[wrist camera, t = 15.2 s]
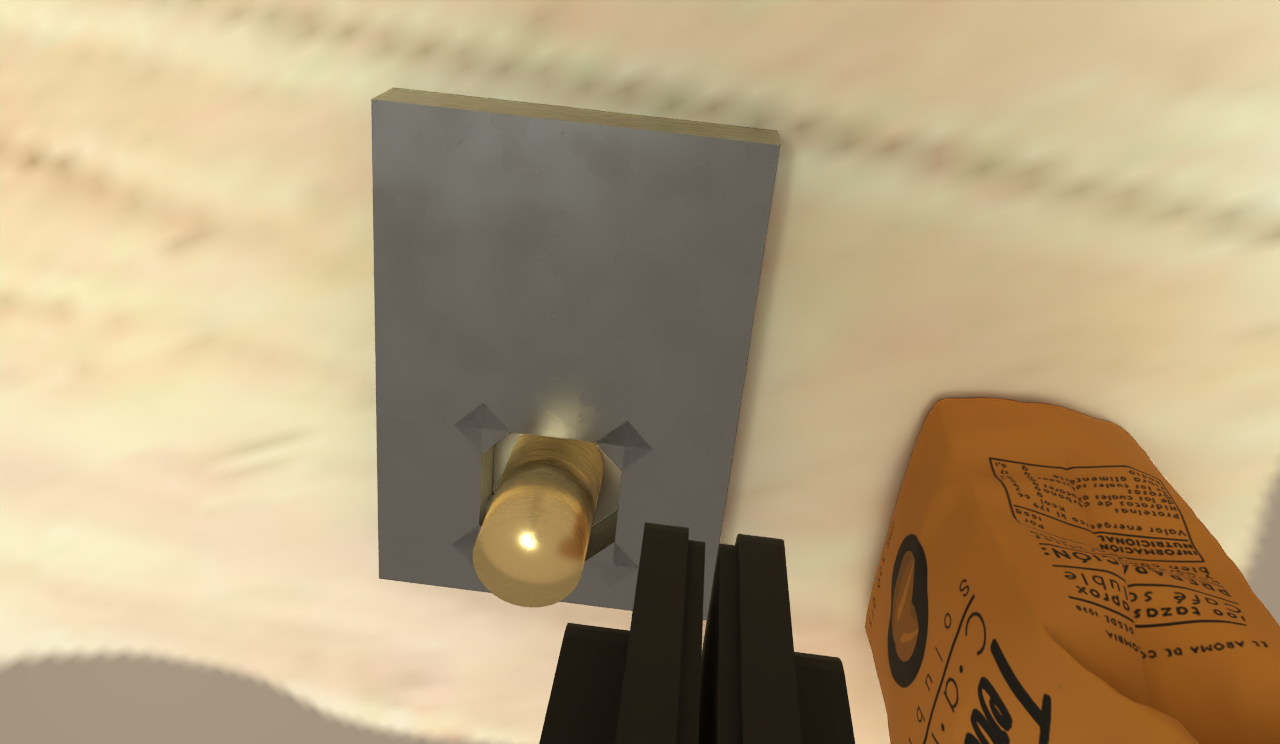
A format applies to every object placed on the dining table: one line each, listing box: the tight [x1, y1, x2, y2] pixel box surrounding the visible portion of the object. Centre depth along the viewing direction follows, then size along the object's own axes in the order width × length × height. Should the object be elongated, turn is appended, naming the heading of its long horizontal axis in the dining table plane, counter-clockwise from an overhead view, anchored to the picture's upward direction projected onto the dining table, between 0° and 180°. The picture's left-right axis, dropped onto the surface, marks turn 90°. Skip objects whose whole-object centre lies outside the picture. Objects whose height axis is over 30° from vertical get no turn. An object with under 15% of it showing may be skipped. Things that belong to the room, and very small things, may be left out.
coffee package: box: [865, 398, 1280, 744], centre depth 32 cm, size 10×12×22 cm
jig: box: [371, 88, 780, 620], centre depth 40 cm, size 20×14×2 cm
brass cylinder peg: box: [473, 434, 604, 607], centre depth 40 cm, size 4×4×7 cm
